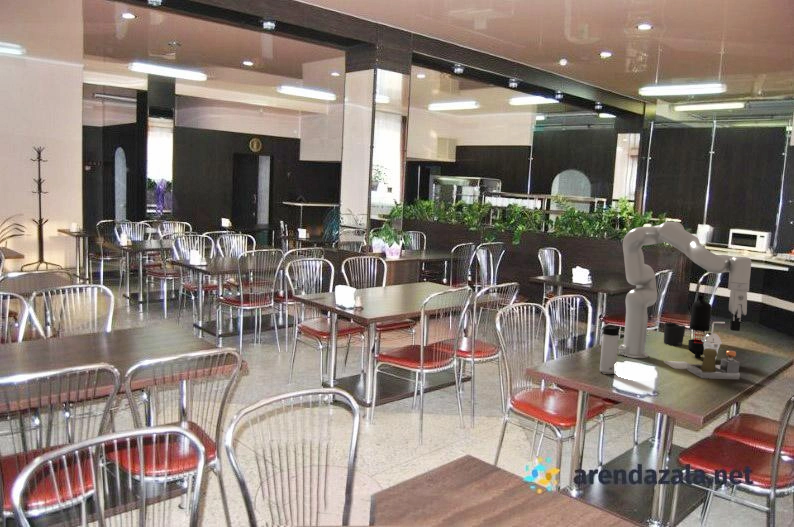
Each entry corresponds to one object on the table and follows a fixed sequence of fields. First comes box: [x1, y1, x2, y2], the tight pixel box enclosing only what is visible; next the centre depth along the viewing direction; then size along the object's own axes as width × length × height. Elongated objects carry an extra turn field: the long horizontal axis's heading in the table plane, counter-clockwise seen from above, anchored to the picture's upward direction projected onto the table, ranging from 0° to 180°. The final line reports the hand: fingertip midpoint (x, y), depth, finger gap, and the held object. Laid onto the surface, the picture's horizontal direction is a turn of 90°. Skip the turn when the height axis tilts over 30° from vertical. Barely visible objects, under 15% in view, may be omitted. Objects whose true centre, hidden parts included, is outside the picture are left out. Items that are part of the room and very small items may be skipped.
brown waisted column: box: [701, 349, 718, 372], centre depth 256 cm, size 6×6×11 cm
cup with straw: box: [700, 321, 726, 362], centre depth 273 cm, size 8×9×20 cm
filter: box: [688, 295, 712, 359], centre depth 283 cm, size 14×9×30 cm
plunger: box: [725, 349, 737, 361], centre depth 253 cm, size 4×4×6 cm
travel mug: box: [599, 325, 621, 375], centre depth 251 cm, size 6×7×20 cm
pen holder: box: [663, 322, 686, 347], centre depth 308 cm, size 9×9×10 cm
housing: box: [686, 358, 741, 380], centre depth 256 cm, size 16×12×7 cm
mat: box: [663, 360, 690, 370], centre depth 268 cm, size 10×10×1 cm
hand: (734, 330), depth 251 cm, fingers closed
